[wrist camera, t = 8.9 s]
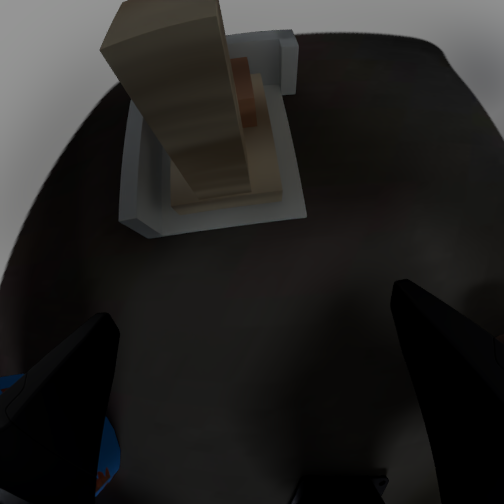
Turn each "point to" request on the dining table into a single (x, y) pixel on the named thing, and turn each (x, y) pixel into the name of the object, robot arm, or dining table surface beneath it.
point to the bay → (158, 161)
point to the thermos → (108, 449)
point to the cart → (196, 102)
